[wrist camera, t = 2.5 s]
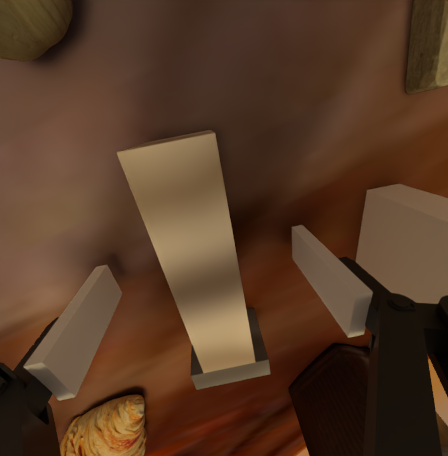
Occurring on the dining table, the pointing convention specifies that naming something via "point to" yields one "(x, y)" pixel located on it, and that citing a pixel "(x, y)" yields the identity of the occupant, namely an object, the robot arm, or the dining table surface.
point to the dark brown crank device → (338, 403)
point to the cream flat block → (406, 242)
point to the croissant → (108, 430)
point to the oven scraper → (197, 253)
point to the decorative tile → (428, 46)
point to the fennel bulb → (32, 27)
